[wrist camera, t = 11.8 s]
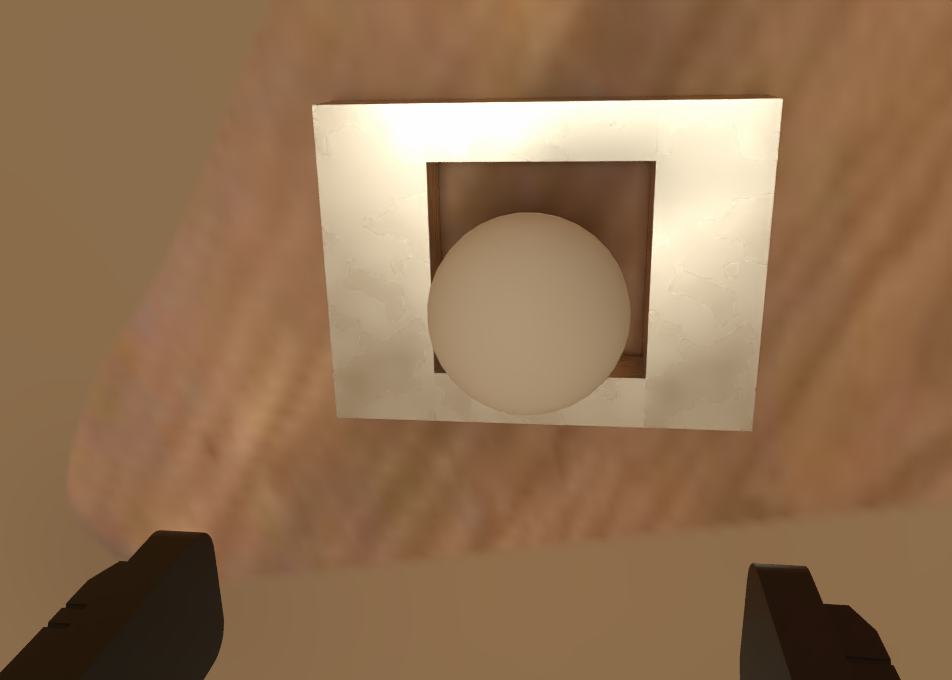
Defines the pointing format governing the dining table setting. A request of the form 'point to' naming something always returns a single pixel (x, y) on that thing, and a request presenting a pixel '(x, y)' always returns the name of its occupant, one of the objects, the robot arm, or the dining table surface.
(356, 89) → the dining table surface
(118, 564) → the robot arm
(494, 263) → the lightbulb
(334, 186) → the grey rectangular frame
